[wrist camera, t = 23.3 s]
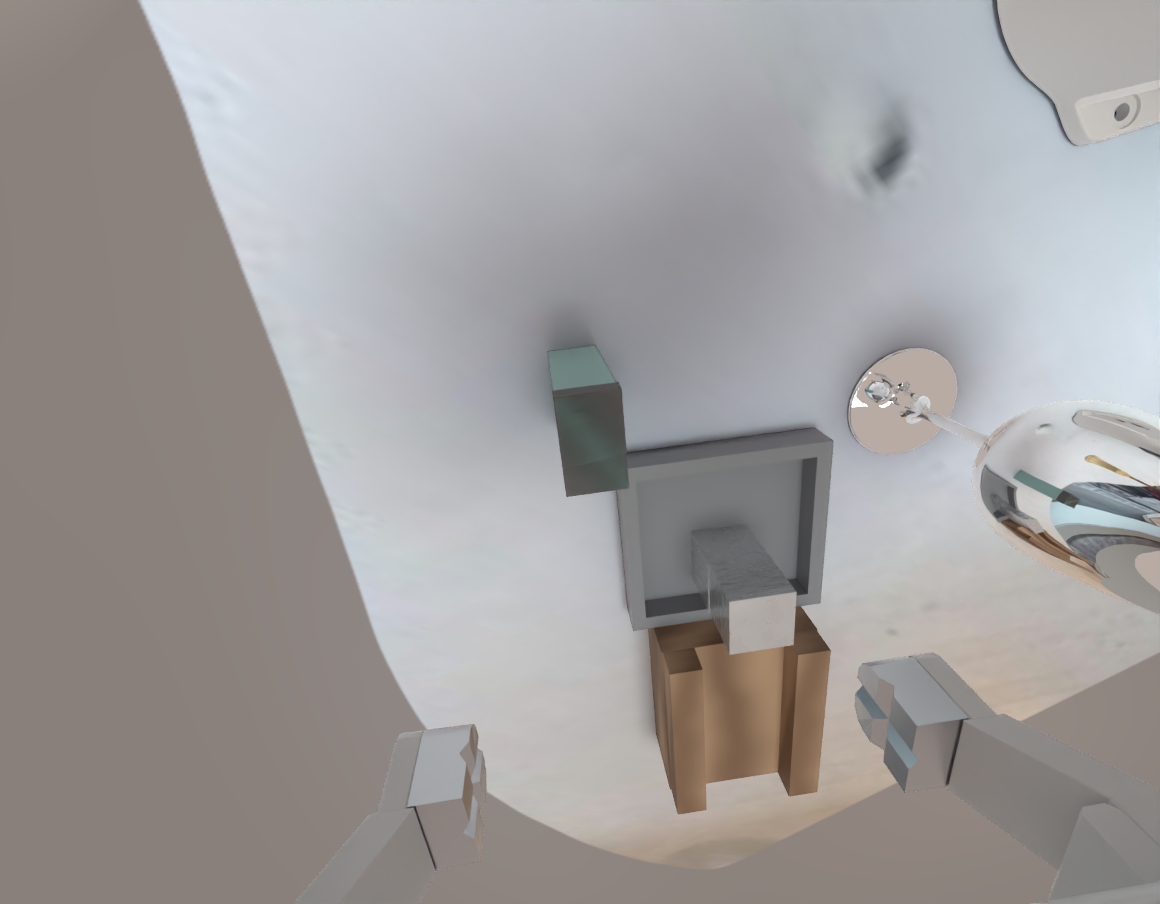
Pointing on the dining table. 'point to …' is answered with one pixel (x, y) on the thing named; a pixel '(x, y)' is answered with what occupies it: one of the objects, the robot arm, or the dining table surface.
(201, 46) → the dining table surface
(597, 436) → the green grey block
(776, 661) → the groove board
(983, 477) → the wineglass
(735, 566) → the steel block
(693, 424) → the dining table surface
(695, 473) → the tray
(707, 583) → the steel block
